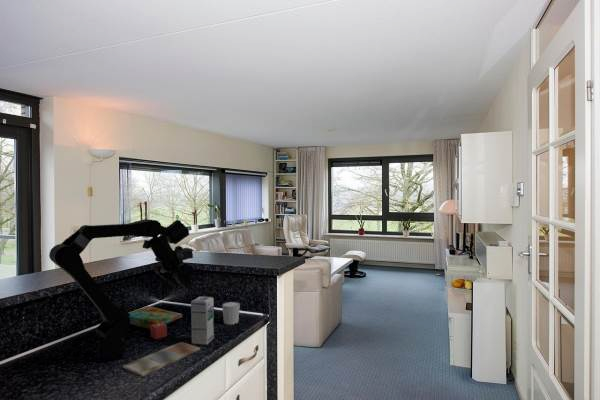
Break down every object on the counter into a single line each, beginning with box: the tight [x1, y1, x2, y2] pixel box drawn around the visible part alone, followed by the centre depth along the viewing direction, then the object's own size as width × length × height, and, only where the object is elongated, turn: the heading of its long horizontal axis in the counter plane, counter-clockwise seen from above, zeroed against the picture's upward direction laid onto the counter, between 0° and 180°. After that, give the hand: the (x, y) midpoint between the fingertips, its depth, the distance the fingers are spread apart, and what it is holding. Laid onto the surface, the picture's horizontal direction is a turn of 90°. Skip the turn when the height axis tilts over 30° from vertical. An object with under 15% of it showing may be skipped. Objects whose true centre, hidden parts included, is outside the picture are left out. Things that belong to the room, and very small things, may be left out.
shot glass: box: [221, 301, 241, 325], centre depth 144 cm, size 7×7×7 cm
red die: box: [150, 322, 168, 340], centre depth 129 cm, size 4×4×4 cm
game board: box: [122, 341, 201, 377], centre depth 112 cm, size 21×9×1 cm, turn 148°
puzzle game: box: [127, 305, 183, 330], centre depth 142 cm, size 12×5×20 cm
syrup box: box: [190, 296, 215, 345], centre depth 125 cm, size 6×6×14 cm
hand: (184, 288), depth 130 cm, fingers open, 9 cm apart
